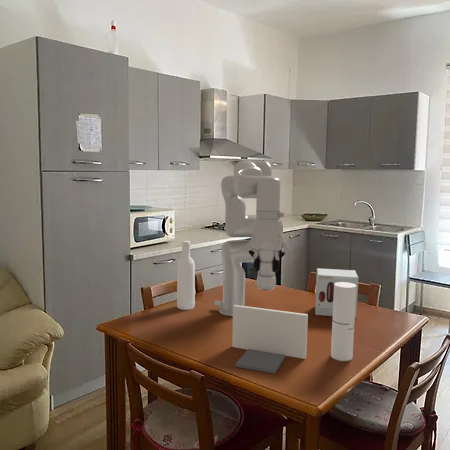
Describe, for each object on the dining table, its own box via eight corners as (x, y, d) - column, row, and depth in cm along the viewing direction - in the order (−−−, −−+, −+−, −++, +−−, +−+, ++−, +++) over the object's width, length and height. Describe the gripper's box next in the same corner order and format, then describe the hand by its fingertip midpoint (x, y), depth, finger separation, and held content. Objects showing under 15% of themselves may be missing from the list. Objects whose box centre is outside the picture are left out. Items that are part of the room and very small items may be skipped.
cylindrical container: (328, 352, 163) (331, 282, 160) (348, 352, 164) (351, 281, 161) (334, 361, 156) (338, 287, 153) (355, 360, 157) (359, 287, 154)
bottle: (198, 306, 213) (198, 241, 209) (187, 311, 206) (187, 243, 202) (184, 303, 217) (184, 239, 213) (173, 307, 210) (173, 241, 206)
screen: (232, 346, 167) (233, 305, 165) (233, 345, 168) (234, 304, 166) (305, 358, 158) (306, 315, 156) (306, 357, 159) (307, 314, 157)
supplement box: (315, 315, 203) (317, 274, 200) (314, 306, 216) (316, 267, 213) (357, 318, 200) (359, 276, 197) (353, 308, 213) (355, 269, 210)
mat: (235, 366, 151) (235, 363, 151) (248, 351, 163) (248, 348, 163) (274, 373, 146) (274, 370, 146) (285, 357, 158) (285, 354, 158)
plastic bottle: (256, 292, 152) (257, 230, 149) (256, 286, 159) (257, 227, 156) (276, 292, 152) (278, 231, 149) (275, 287, 158) (277, 228, 156)
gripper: (295, 215, 154) (293, 270, 156) (243, 213, 157) (242, 267, 160) (293, 218, 146) (291, 275, 149) (239, 216, 150) (238, 271, 153)
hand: (266, 270), depth 154 cm, fingers closed on plastic bottle, 5 cm apart
